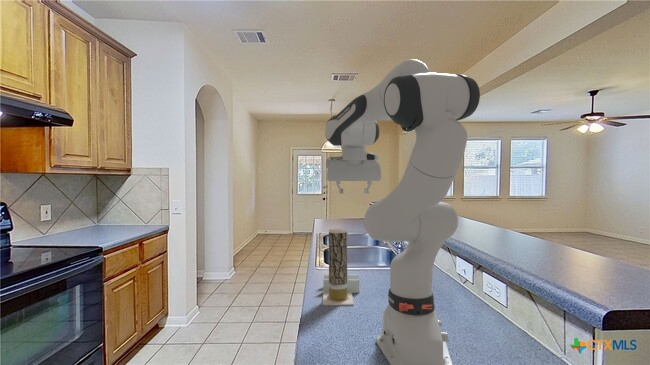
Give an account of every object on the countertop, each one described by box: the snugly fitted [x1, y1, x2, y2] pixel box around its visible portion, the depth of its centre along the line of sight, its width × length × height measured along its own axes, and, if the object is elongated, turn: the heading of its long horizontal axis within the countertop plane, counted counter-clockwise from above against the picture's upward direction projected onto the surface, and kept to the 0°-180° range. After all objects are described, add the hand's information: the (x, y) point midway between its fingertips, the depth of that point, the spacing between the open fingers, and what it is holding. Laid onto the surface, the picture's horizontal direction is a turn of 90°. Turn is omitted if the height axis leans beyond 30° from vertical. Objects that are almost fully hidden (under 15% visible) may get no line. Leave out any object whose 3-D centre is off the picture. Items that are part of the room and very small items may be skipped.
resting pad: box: [322, 291, 355, 307], centre depth 118 cm, size 11×11×1 cm
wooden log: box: [328, 228, 348, 300], centre depth 118 cm, size 7×7×25 cm
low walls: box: [323, 274, 360, 294], centre depth 128 cm, size 7×14×5 cm, turn 88°
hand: (353, 193), depth 119 cm, fingers open, 8 cm apart
